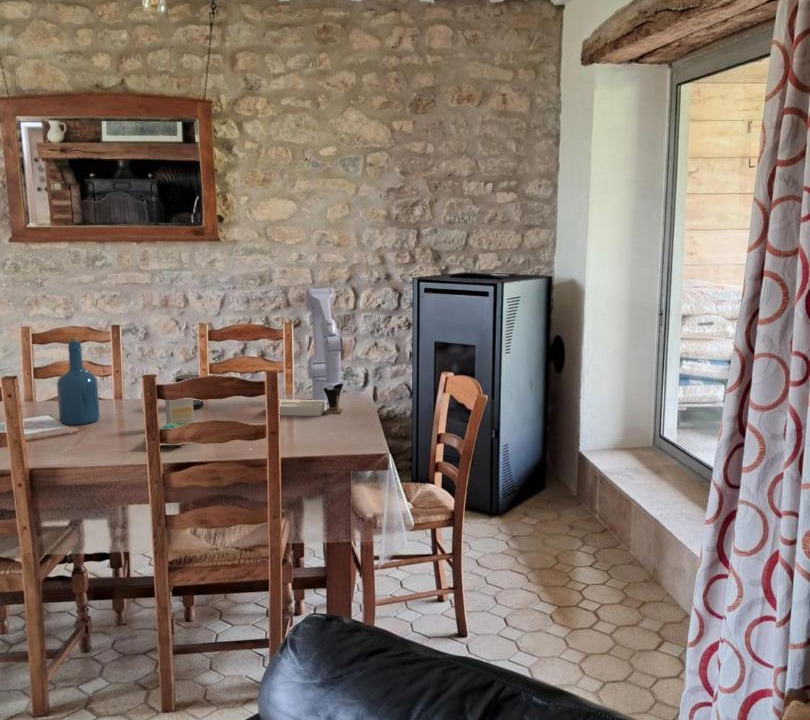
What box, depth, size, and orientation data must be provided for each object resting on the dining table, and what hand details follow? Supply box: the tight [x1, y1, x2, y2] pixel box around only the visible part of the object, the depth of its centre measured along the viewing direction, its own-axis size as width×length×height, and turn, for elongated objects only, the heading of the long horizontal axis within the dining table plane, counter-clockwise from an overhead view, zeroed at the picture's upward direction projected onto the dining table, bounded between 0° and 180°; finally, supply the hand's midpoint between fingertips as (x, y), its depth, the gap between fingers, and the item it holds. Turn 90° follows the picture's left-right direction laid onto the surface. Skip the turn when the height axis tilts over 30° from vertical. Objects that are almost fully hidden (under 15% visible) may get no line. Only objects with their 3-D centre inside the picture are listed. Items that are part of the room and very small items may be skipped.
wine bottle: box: [56, 336, 101, 426], centre depth 285 cm, size 14×13×30 cm
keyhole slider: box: [324, 396, 344, 415], centre depth 299 cm, size 6×6×6 cm
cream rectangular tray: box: [279, 399, 327, 417], centre depth 300 cm, size 12×20×3 cm, turn 85°
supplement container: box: [174, 374, 205, 411], centre depth 307 cm, size 10×10×12 cm
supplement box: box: [164, 399, 195, 425], centre depth 276 cm, size 8×5×13 cm, turn 124°
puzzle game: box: [143, 423, 189, 448], centre depth 260 cm, size 12×5×20 cm
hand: (334, 405), depth 299 cm, fingers open, 5 cm apart
